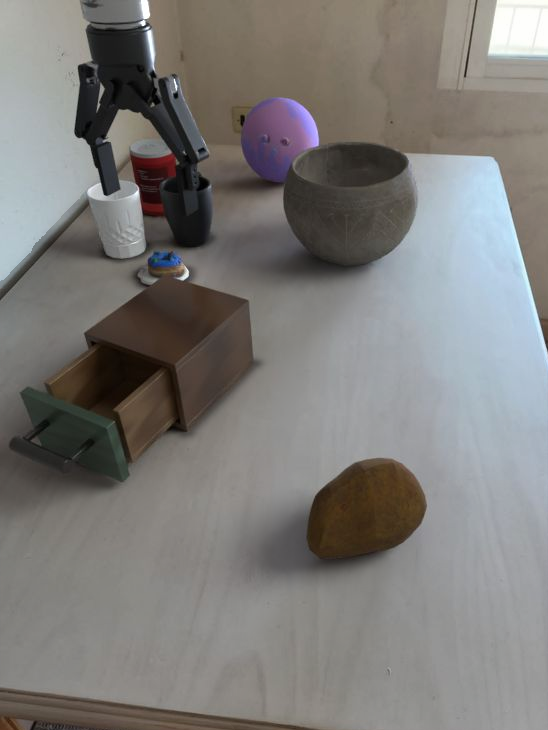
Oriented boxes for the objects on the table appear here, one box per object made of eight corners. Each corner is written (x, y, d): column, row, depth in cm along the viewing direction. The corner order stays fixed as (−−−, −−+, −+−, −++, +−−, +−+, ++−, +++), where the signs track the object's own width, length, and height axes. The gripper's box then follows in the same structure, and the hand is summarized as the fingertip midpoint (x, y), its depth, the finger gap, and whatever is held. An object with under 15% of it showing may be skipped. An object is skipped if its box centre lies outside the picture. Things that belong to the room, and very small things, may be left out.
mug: (227, 221, 113) (221, 167, 106) (209, 252, 104) (203, 196, 97) (182, 217, 113) (174, 164, 107) (161, 248, 105) (151, 192, 98)
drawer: (92, 513, 62) (71, 459, 57) (8, 474, 66) (-18, 419, 61) (198, 407, 74) (190, 354, 69) (123, 379, 78) (109, 326, 72)
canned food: (168, 195, 121) (159, 135, 113) (190, 209, 116) (182, 147, 109) (132, 205, 117) (120, 144, 109) (153, 220, 112) (142, 157, 105)
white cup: (114, 265, 100) (100, 205, 94) (93, 247, 105) (78, 188, 98) (158, 251, 104) (147, 191, 97) (136, 234, 108) (124, 176, 102)
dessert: (201, 268, 98) (178, 247, 93) (180, 304, 98) (157, 285, 93) (166, 257, 102) (143, 236, 97) (147, 291, 102) (122, 272, 96)
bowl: (266, 270, 100) (261, 175, 90) (310, 216, 114) (310, 129, 104) (394, 293, 95) (404, 196, 85) (423, 234, 109) (434, 145, 99)
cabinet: (187, 431, 72) (175, 365, 66) (102, 398, 76) (83, 332, 70) (253, 363, 82) (249, 299, 75) (175, 337, 86) (164, 274, 79)
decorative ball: (239, 194, 121) (232, 110, 111) (248, 165, 132) (243, 86, 122) (316, 196, 121) (317, 112, 111) (319, 166, 132) (320, 88, 122)
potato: (293, 509, 64) (291, 449, 58) (403, 489, 66) (412, 429, 60) (312, 579, 58) (312, 519, 52) (433, 553, 60) (446, 494, 54)
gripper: (14, 16, 74) (63, 193, 89) (186, 41, 66) (208, 232, 80) (61, 6, 79) (100, 175, 93) (226, 28, 71) (241, 210, 85)
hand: (150, 202), depth 87 cm, fingers open, 13 cm apart
